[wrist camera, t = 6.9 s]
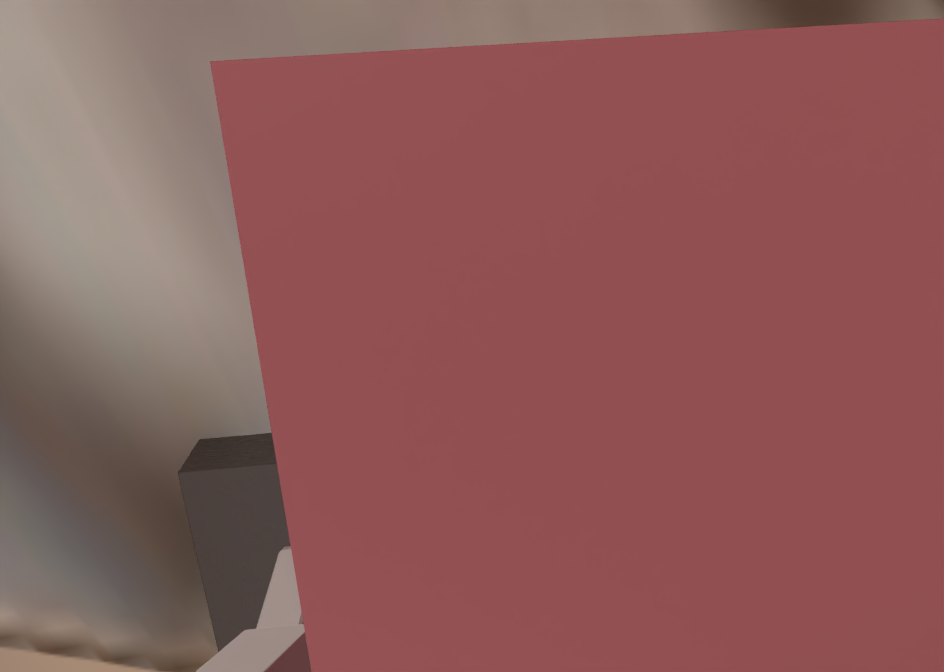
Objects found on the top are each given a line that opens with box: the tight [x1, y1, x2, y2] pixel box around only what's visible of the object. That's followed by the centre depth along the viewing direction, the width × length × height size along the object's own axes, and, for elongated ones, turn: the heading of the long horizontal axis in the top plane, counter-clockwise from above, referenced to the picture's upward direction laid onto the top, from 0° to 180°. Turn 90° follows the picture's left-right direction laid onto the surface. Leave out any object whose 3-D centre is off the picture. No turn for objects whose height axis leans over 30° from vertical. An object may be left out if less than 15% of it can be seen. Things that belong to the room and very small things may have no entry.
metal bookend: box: [178, 433, 291, 651], centre depth 38 cm, size 10×12×9 cm
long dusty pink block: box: [210, 19, 944, 672], centre depth 10 cm, size 4×13×10 cm, turn 3°
